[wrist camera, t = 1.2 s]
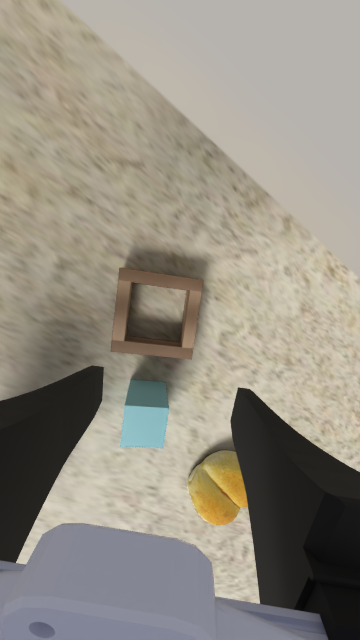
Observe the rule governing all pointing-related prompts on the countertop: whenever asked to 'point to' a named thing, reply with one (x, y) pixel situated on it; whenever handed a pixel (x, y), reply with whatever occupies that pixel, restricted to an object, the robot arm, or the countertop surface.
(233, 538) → the countertop surface
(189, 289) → the well frame
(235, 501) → the bread roll
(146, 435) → the light blue block
